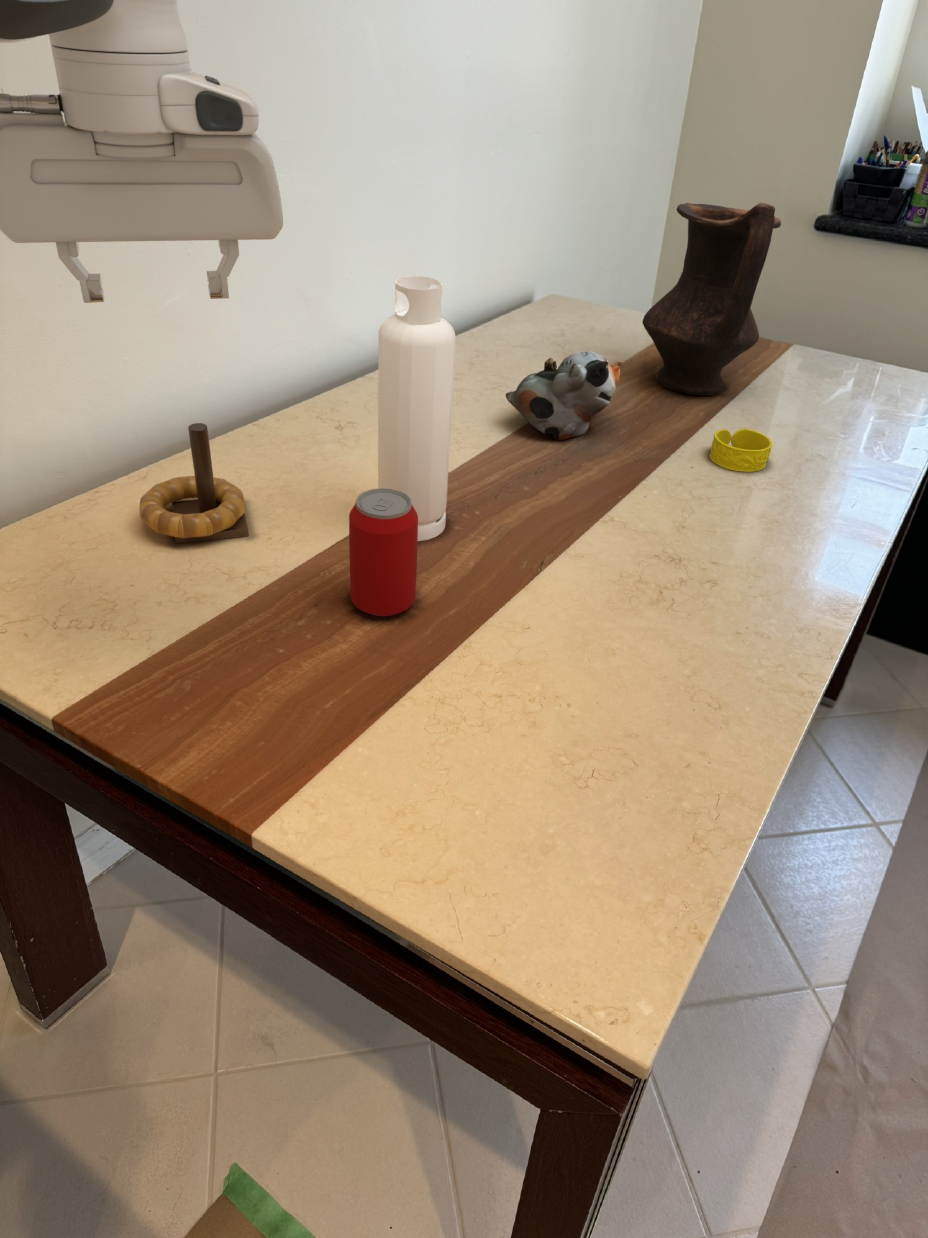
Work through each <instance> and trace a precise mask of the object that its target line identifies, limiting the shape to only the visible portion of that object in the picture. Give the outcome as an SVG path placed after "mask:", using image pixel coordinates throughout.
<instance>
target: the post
mask: <svg viewBox="0 0 928 1238" xmlns="http://www.w3.org/2000/svg"><path fill="white" fill-rule="evenodd" d="M187 431H188V437H189V444H190V451H191V452H190V453H191V458H192V467H193V473H194V476H195V481H196V488H197V496H198V498H196V499H185V500H179V501H176V502H173V503H171V509H172V512H173V513H178V514H195V513H204V512H206V511H209V510H212V509H214V508H217V507H218V506H219V505H220V504H221V503H220V502H219V501H217V500H216V494H215V485H214V477H215V476H214V470H213V469H214V468H213V463H212V453H211V445H210V438H209V437H210V436H209V430H208V425H207V424H205V423H203V422H194V423H191V424H189V425H188V426H187ZM249 536H250V533H249V527H248V522H247V517H246V512H244V514H243V515H242V516H241V517H240V518H239V520H238V521H237V522H236V523H235V524H234V525H233V526H232V527H230V528H228V529H225V530H223V531H220V532H218V533H215V534H213V535H210V536H202V537H192V538H179V537H174V539H175V544H186V543H195V542H205V541H215V540H224V539H234V538H235V539H236V538H244V537H245V538H246V537H249Z"/></svg>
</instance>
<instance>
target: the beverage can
mask: <svg viewBox="0 0 928 1238" xmlns="http://www.w3.org/2000/svg"><path fill="white" fill-rule="evenodd" d="M348 537H349V538H348V545H349V547H348V548H349V553H348V554H349V587H350V589H349V591H350V600H351V602H352V604H353V605H354V606H355V607H356V608H357V609H358V610H360V611H362V612H363V613H366V614H369V615H373V616H377V617H389V616H390V617H391V616H394V615H397V614H401V613H404V612H405V611H407V610H408V609H409V608H411V607H412V605H413V604H414V603H415V601H416V589H417V569H418V568H417V566H418V542H419V541H418V515H417V512H416V511H415V509H414V507H413V505H412V504H411V499H410V498H409V496H408V495H406V494H405V493H403V492H401V491H398V490H394V489H388V488H378V487H377V488H372V489H368V490H365V491H364V492H361V493H360V494H359V495H358V496H357V497H356V499H355V503H354V505H353V506H352V508H351V510H350V512H349V515H348Z"/></svg>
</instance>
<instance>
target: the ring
mask: <svg viewBox="0 0 928 1238" xmlns="http://www.w3.org/2000/svg"><path fill="white" fill-rule="evenodd" d="M213 477H214V485H215V494H216V500H217V501H219V502H220V503H221V504H220V505H219V506H218V507H217V508H214V509H212V510H209V511H206V512H204V513H195V514H178V513H173V511H172V512H171V511H168V510H166V507H168V506H169V505H172V503H173V502H176V501H183V500H189V499H198V496H197V488H196V481H195V475H186V476H185V475H184V476H178V477H174V478H171V479H168V480H165V481H162V482H161V481H160V482H158V483H156V484H155V485H153V486H152V487H151V488H150V489H149V490H147V491H146V492H145V493H144V494H143V495H142V496H141V497H140V499H139V519H140V520H141V522H142V523H143V524H145V525H146V526H147V527H149V528H150V529H151V530H152V531H154V532H156V533H157V534H159V535H164V536H167V537H174V538H175V537H179V538H192V537H202V536H210V535H213V534H215V533H218V532H220V531H223V530H225V529H228V528H230V527H232V526H233V525H234V524H235V523H236V522H237V521H238V520H239V518H240V517H241V516H242V515H243V514H244V513H246V502H245V496H244V493H243V491H242V490H241V489H240V488H239V487H237V486H236V485H234V484H233V483H231V482H230V481H228V480H226V479H224V478H220V477H215V476H213Z"/></svg>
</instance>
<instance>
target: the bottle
mask: <svg viewBox="0 0 928 1238" xmlns="http://www.w3.org/2000/svg"><path fill="white" fill-rule="evenodd" d="M433 285H434V286H437V287H433V288H430V287H431V286H433ZM442 293H443V282H442V281H440V280H439V279H436V278H434V277H429V276H423V275H406V276H400V277H398V278H396V279H395V281H394V295H395V297H394V298H395V299H394V314H393V315H390V316H389V317H388V318H387V319H385V321H383V322H382V323H381V324H380V327H379V329H378V357H377V358H378V364H377V365H378V367H377V368H378V375H377V377H378V378H377V379H378V381H377V382H378V383H377V385H378V387H377V392H378V393H377V394H378V395H377V397H378V401H377V402H378V404H377V406H378V407H377V408H378V409H377V410H378V412H377V413H378V414H377V415H378V417H377V420H378V421H377V423H378V424H377V427H378V429H377V430H378V431H377V439H378V440H377V458H378V459H377V489H378V488H388V489H394V490H398V491H401V492H403V493H405V494H406V495H408V496H409V498H410V499H411V504H412V505H413V507H414V509H415V511H416V512H417V515H418V541H417V542H423V541H428V540H431V539H434V538H437V537H438V536H439V535H441V534H442V533H443V532H444V530H445V528H446V523H447V521H446V519H447V512H446V511H447V503H448V484H449V467H450V466H449V465H450V449H451V431H452V413H453V395H454V376H455V358H456V340H457V337H456V336H457V335H456V333H455V330H454V326H452V325H451V324H450V323H449V322H448V321H447V320H446V319H445V318H443V317H442V316H441V315H442V296H443V294H442Z"/></svg>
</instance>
